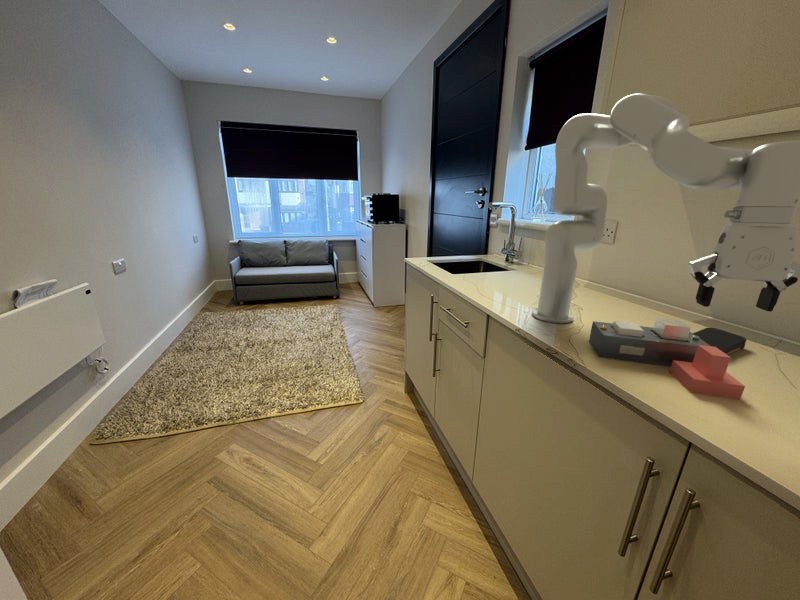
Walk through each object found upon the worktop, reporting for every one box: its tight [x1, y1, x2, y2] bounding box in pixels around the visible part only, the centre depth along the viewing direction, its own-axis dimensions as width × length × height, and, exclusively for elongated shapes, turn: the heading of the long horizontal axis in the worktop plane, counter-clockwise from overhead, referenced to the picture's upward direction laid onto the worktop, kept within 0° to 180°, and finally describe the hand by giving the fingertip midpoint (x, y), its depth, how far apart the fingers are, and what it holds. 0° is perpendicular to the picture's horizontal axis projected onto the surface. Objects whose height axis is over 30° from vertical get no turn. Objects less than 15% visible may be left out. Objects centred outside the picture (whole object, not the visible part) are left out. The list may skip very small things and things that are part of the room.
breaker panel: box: [588, 317, 710, 368], centre depth 79 cm, size 10×22×10 cm, turn 73°
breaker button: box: [612, 320, 644, 337], centre depth 81 cm, size 5×5×4 cm
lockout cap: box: [669, 345, 746, 400], centre depth 67 cm, size 8×8×8 cm
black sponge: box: [692, 327, 747, 356], centre depth 85 cm, size 16×8×4 cm, turn 116°
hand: (732, 306), depth 62 cm, fingers open, 9 cm apart
